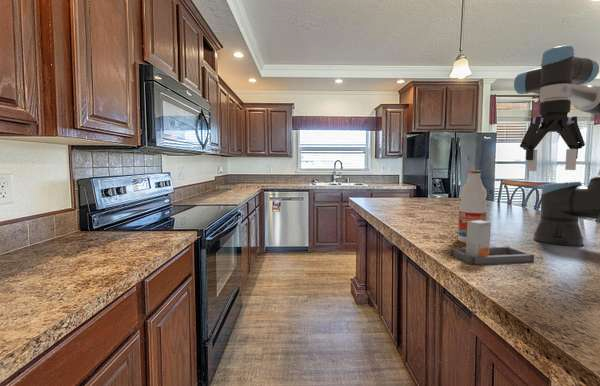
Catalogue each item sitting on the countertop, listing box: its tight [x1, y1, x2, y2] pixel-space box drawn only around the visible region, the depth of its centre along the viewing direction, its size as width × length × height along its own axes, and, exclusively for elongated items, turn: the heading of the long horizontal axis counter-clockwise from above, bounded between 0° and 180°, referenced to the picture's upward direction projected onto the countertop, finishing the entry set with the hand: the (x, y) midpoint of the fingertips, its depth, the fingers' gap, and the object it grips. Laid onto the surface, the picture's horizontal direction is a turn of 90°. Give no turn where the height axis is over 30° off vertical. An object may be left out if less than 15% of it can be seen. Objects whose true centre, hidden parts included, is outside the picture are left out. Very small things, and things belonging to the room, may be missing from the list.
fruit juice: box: [457, 169, 488, 244], centre depth 126 cm, size 9×9×28 cm
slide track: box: [450, 245, 535, 266], centre depth 105 cm, size 21×11×2 cm, turn 97°
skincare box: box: [465, 220, 492, 257], centre depth 104 cm, size 6×4×12 cm
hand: (551, 170), depth 101 cm, fingers open, 13 cm apart
